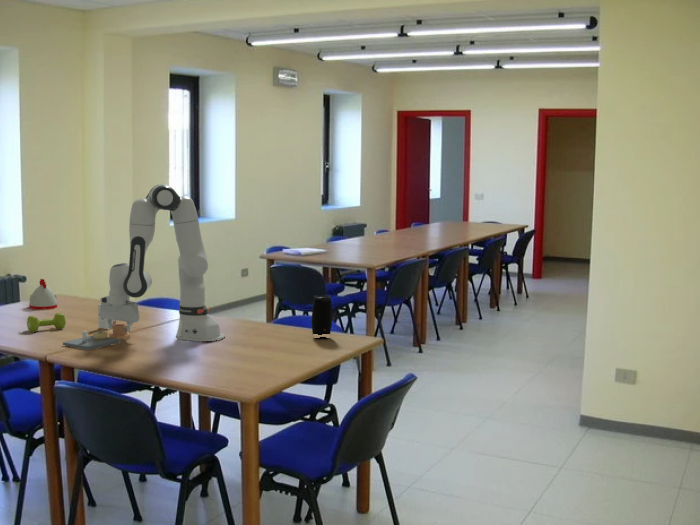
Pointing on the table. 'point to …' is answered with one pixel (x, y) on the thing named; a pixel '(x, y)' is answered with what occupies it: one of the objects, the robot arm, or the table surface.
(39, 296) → the white and red dome
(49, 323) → the dumbbell
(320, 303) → the portable speaker
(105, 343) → the carrier plate
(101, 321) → the ink cartridge box
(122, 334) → the octagonal tube stub
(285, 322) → the table surface
